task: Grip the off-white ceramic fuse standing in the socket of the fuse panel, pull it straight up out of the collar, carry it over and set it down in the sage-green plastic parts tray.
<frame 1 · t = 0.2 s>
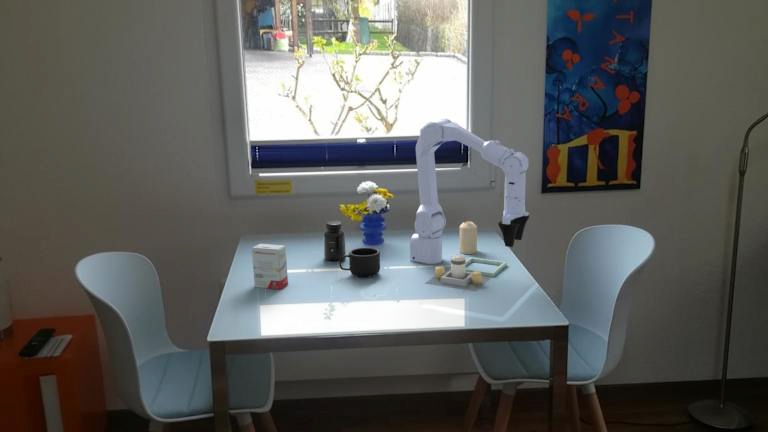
hand: (513, 242, 203), 10 cm above the table, fingers open, 7 cm apart
candle: (468, 252, 230), on the table
fuse: (458, 280, 200), point 1 cm above the table, touching fuse panel
supplement bottle: (335, 259, 225), on the table
parts tray: (481, 271, 210), on the table
mug: (360, 275, 209), on the table
ink box: (271, 286, 201), on the table
fuse panel: (458, 283, 200), on the table
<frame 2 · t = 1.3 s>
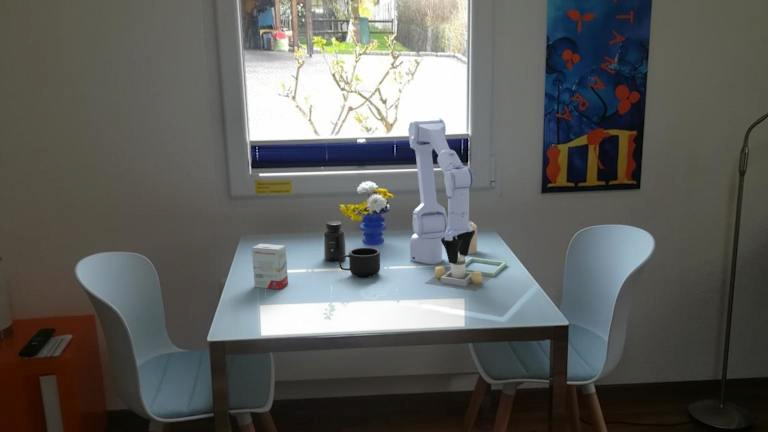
hand: (458, 259, 198), 7 cm above the table, fingers open, 7 cm apart
nothing on the table moved.
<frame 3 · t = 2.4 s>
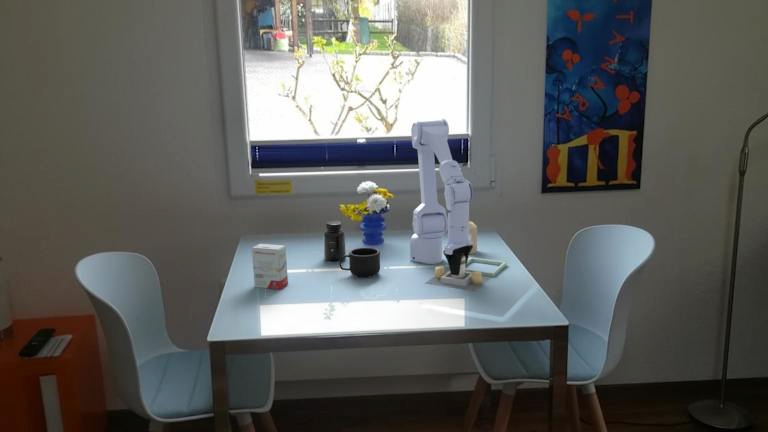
hand: (458, 272, 199), 3 cm above the table, fingers closed on fuse, 4 cm apart
fuse: (458, 280, 200), point 1 cm above the table, touching fuse panel, gripper
everything else where it was.
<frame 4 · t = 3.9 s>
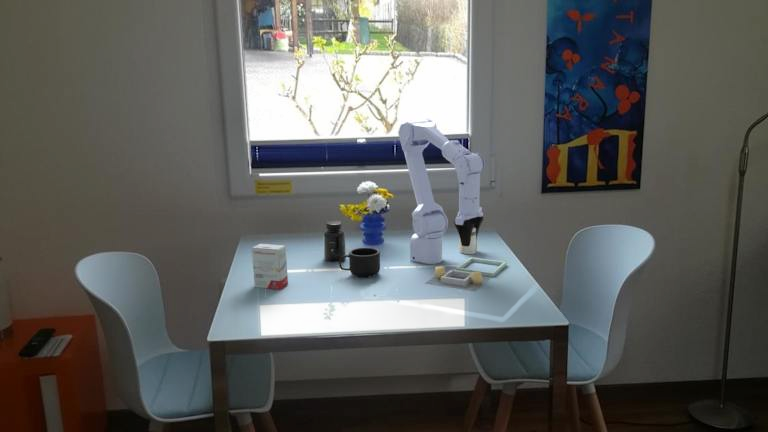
hand: (468, 243, 202), 10 cm above the table, fingers closed on fuse, 4 cm apart
fuse: (468, 251, 202), point 8 cm above the table, touching gripper
everything else where it was.
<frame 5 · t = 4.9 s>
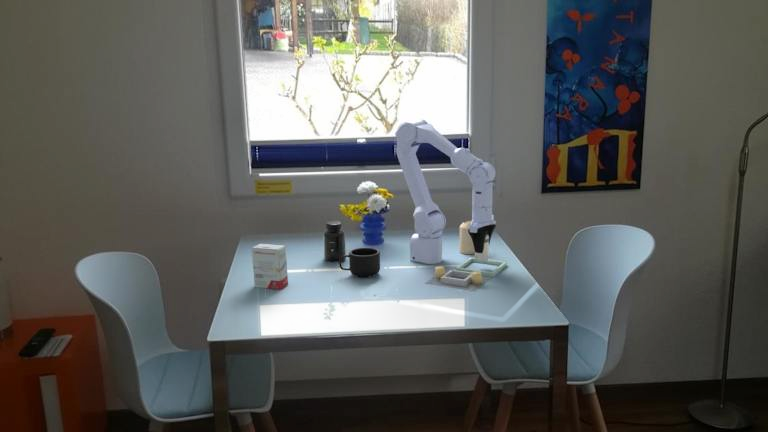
hand: (481, 250, 208), 6 cm above the table, fingers closed on fuse, 4 cm apart
fuse: (481, 258, 209), point 4 cm above the table, touching gripper
everything else where it was.
when the fingers open (4 cm above the table, at t = 5.6 s): fuse drops 1 cm, resting on parts tray.
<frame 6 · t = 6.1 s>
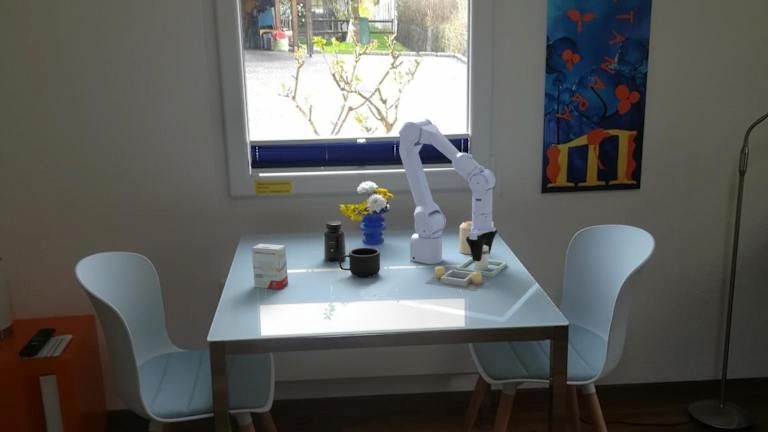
hand: (481, 257, 209), 4 cm above the table, fingers open, 7 cm apart
fuse: (481, 269, 210), point 1 cm above the table, touching parts tray
everything else where it was.
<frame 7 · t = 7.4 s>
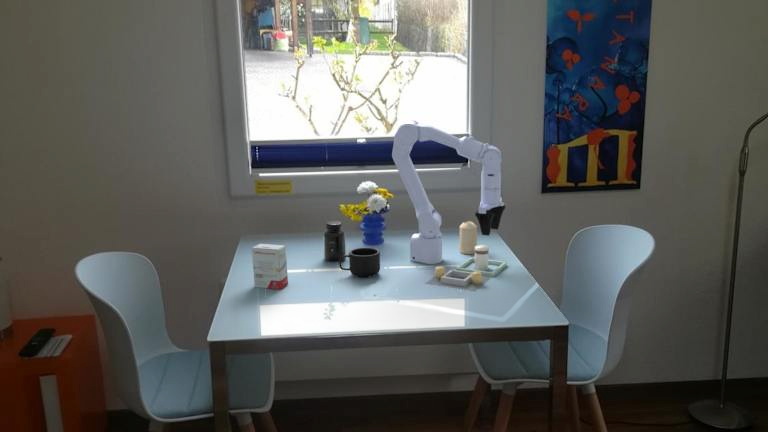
hand: (490, 231, 213), 10 cm above the table, fingers open, 7 cm apart
nothing on the table moved.
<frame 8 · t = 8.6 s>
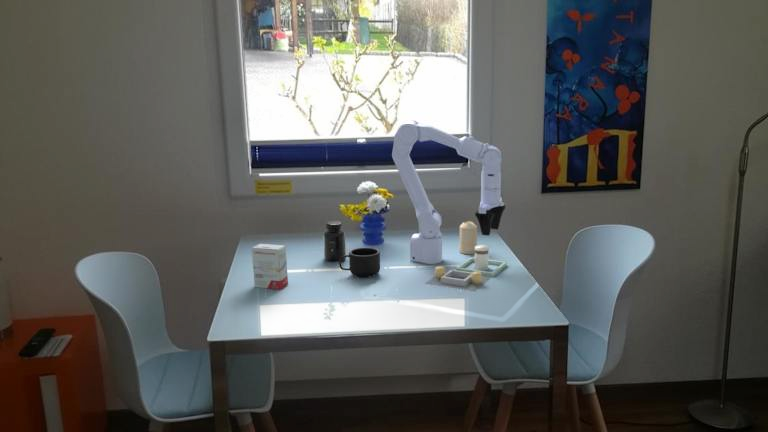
hand: (490, 231, 213), 10 cm above the table, fingers open, 7 cm apart
nothing on the table moved.
at the end: fuse inside the target area on the parts tray (0.0 cm from its centre), point 0.6 cm above the parts tray's base; fuse tilted 0°; the gripper is holding nothing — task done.
